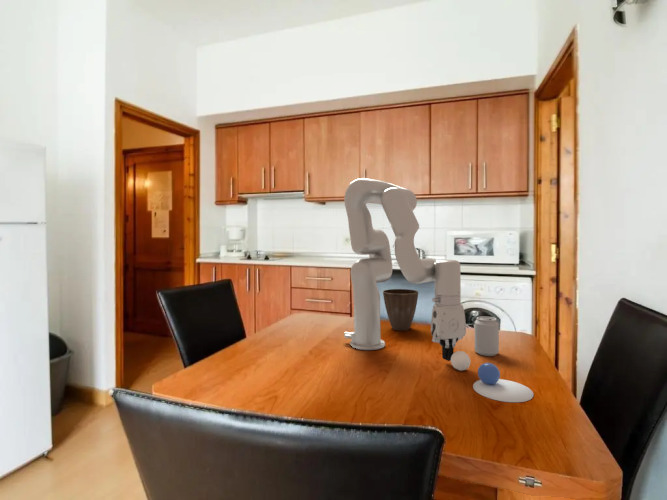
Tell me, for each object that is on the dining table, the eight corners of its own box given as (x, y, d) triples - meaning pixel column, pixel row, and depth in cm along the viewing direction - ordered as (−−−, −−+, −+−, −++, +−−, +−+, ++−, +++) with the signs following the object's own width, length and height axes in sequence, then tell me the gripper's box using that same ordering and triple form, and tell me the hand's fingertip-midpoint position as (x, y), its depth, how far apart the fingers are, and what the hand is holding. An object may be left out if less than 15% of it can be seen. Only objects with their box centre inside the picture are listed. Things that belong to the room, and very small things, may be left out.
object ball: (470, 368, 100) (484, 383, 95) (486, 355, 99) (500, 369, 95) (477, 377, 103) (491, 392, 98) (492, 364, 102) (507, 378, 98)
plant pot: (383, 323, 167) (382, 288, 166) (417, 324, 165) (416, 288, 164) (383, 332, 152) (382, 293, 151) (420, 333, 150) (420, 294, 149)
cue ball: (448, 352, 108) (451, 372, 107) (467, 351, 106) (471, 371, 105) (450, 351, 113) (453, 369, 112) (469, 349, 111) (472, 368, 110)
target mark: (471, 397, 91) (471, 396, 91) (474, 376, 104) (474, 375, 104) (536, 406, 85) (536, 405, 85) (530, 383, 98) (530, 382, 98)
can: (501, 357, 119) (501, 320, 119) (476, 356, 121) (476, 319, 120) (495, 350, 127) (495, 315, 126) (472, 349, 128) (472, 315, 128)
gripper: (435, 304, 107) (435, 367, 108) (475, 300, 113) (475, 359, 113) (419, 300, 114) (420, 359, 115) (458, 296, 120) (458, 352, 120)
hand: (447, 359), depth 114 cm, fingers closed
